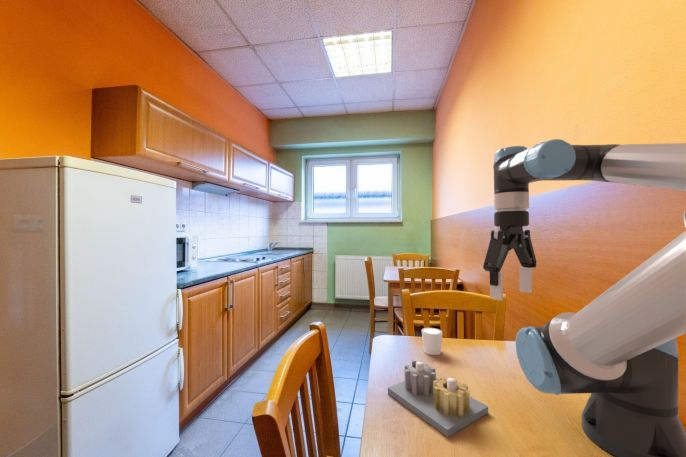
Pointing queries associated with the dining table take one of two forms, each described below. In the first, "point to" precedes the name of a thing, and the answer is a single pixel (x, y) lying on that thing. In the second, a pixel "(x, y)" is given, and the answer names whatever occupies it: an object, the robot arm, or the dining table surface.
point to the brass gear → (451, 398)
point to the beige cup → (432, 340)
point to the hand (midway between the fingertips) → (511, 295)
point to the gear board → (420, 399)
